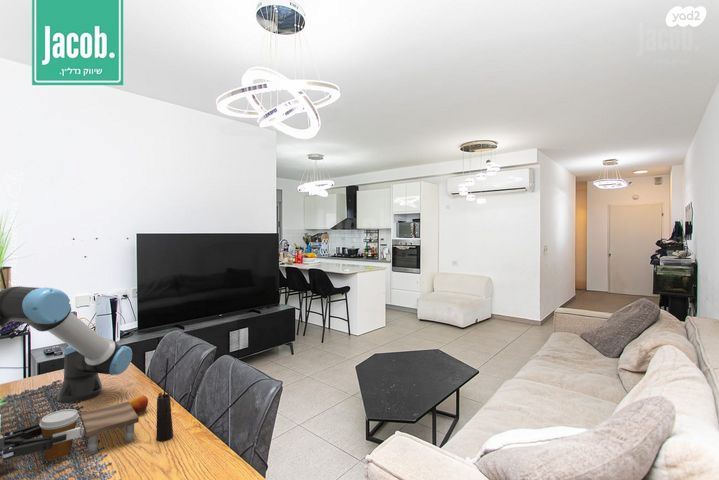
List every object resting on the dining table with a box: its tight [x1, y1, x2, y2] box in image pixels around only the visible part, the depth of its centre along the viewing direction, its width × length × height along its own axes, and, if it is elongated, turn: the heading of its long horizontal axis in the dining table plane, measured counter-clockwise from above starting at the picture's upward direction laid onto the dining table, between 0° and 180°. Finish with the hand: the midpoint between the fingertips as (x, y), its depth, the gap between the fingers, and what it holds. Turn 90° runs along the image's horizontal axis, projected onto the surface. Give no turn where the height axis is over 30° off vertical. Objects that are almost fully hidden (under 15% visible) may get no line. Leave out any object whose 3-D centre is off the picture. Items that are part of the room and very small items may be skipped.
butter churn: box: [155, 358, 174, 443], centre depth 121 cm, size 9×10×28 cm
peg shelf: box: [79, 400, 140, 456], centre depth 119 cm, size 16×14×8 cm
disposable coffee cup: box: [39, 408, 80, 461], centre depth 110 cm, size 10×10×12 cm
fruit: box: [127, 394, 149, 417], centre depth 136 cm, size 8×8×8 cm
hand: (78, 426), depth 113 cm, fingers closed on disposable coffee cup, 8 cm apart
